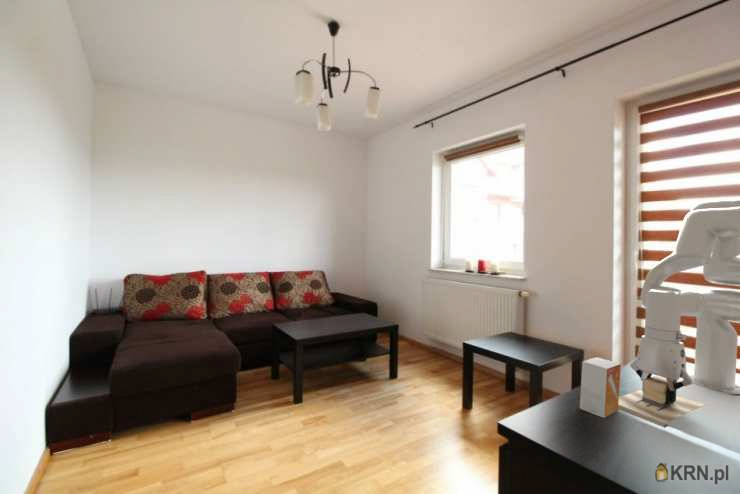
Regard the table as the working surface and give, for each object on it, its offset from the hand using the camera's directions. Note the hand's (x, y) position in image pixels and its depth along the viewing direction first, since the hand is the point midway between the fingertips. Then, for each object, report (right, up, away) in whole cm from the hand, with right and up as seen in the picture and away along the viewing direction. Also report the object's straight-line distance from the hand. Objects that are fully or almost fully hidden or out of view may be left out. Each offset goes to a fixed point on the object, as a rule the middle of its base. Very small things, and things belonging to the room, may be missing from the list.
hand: (658, 398), depth 99 cm
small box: (-19, -2, -3) cm, 19 cm away
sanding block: (0, -1, 0) cm, 1 cm away
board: (-1, -2, 0) cm, 2 cm away
